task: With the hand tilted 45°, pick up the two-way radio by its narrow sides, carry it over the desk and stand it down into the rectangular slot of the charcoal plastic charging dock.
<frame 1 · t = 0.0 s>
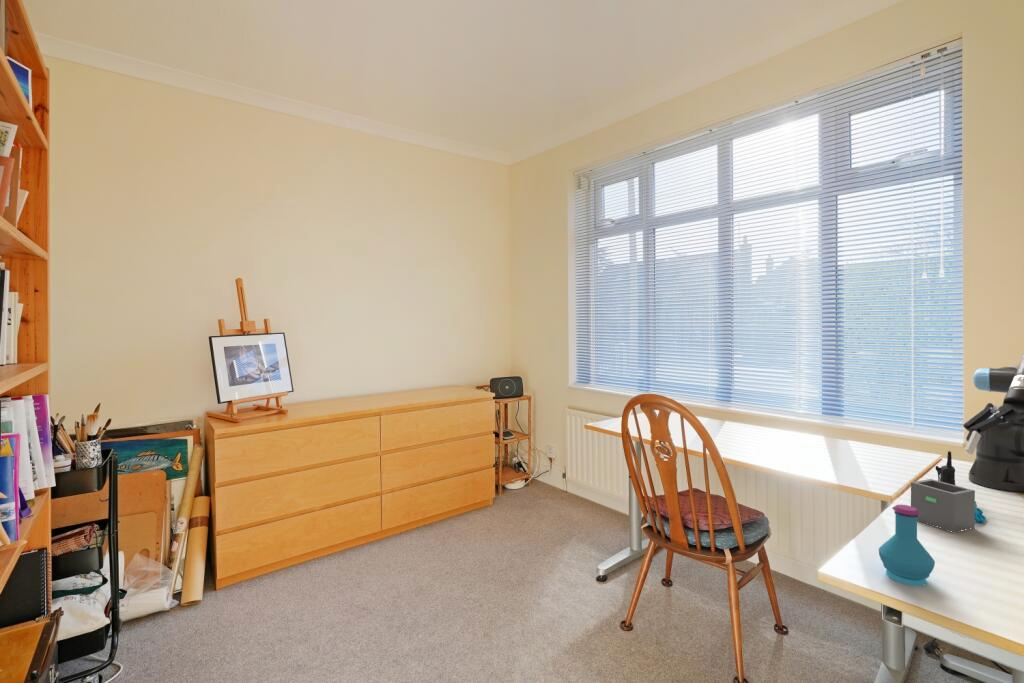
hand: (998, 458, 134), 15 cm above the table, tool tilted 35°, fingers open, 13 cm apart
charging dock: (941, 523, 127), on the table
two-way radio: (945, 499, 144), on the table
perfume bottle: (905, 578, 101), on the table
gear: (966, 518, 130), on the table
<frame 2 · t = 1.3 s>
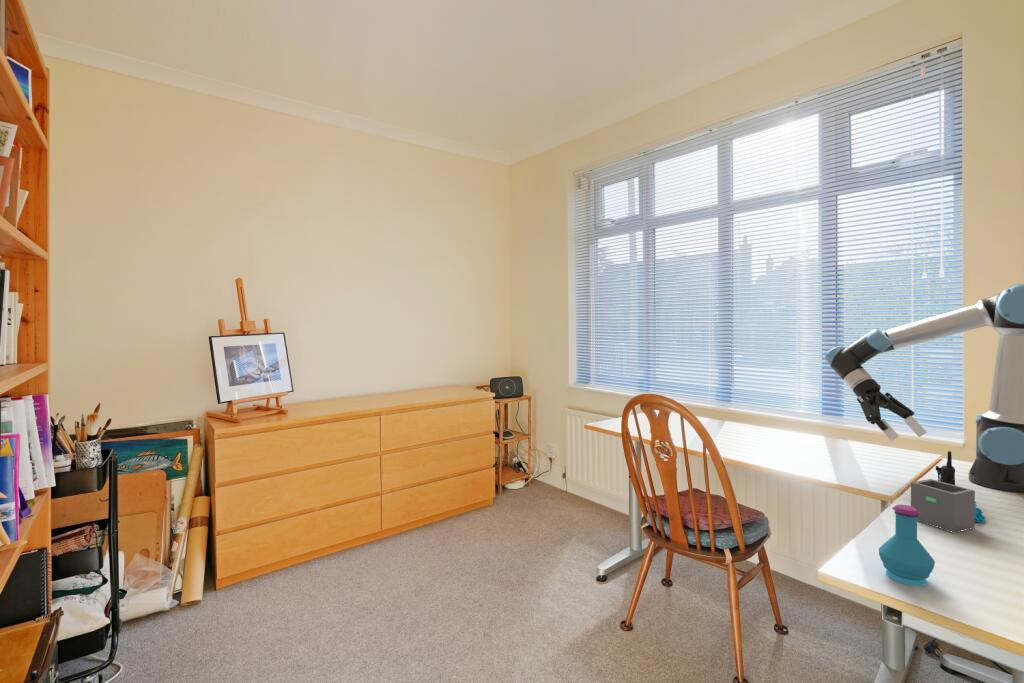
hand: (909, 436, 153), 17 cm above the table, tool tilted 45°, fingers open, 13 cm apart
nothing on the table moved.
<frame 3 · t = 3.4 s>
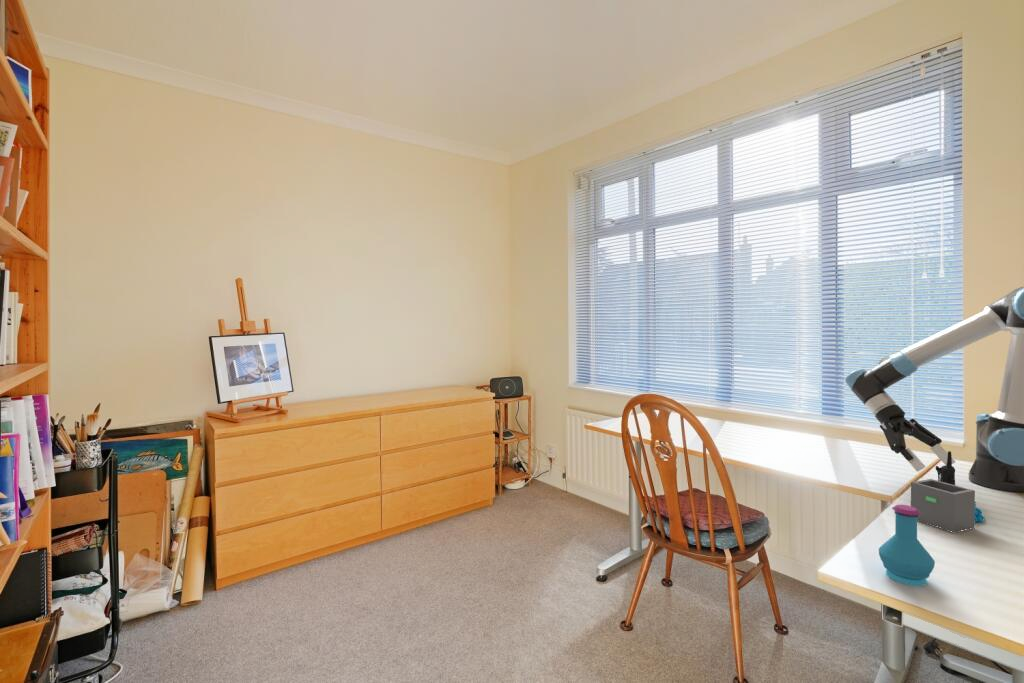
hand: (936, 466, 145), 9 cm above the table, tool tilted 45°, fingers open, 13 cm apart
nothing on the table moved.
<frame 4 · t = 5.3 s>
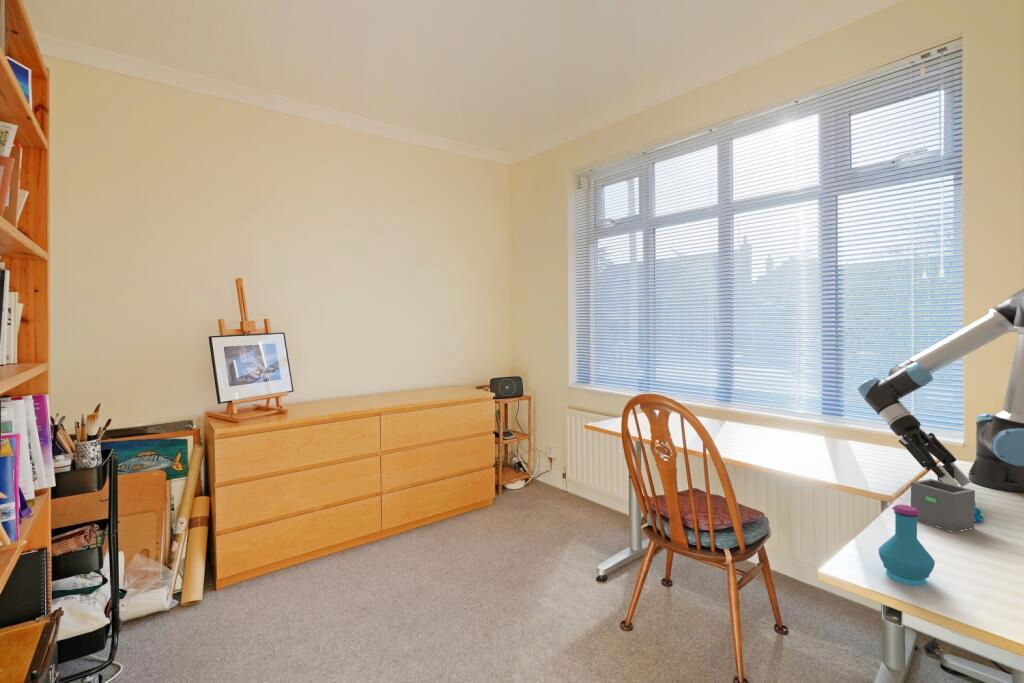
hand: (960, 485, 140), 5 cm above the table, tool tilted 45°, fingers closed on two-way radio, 5 cm apart
two-way radio: (945, 499, 144), on the table, touching gripper
everything else where it was.
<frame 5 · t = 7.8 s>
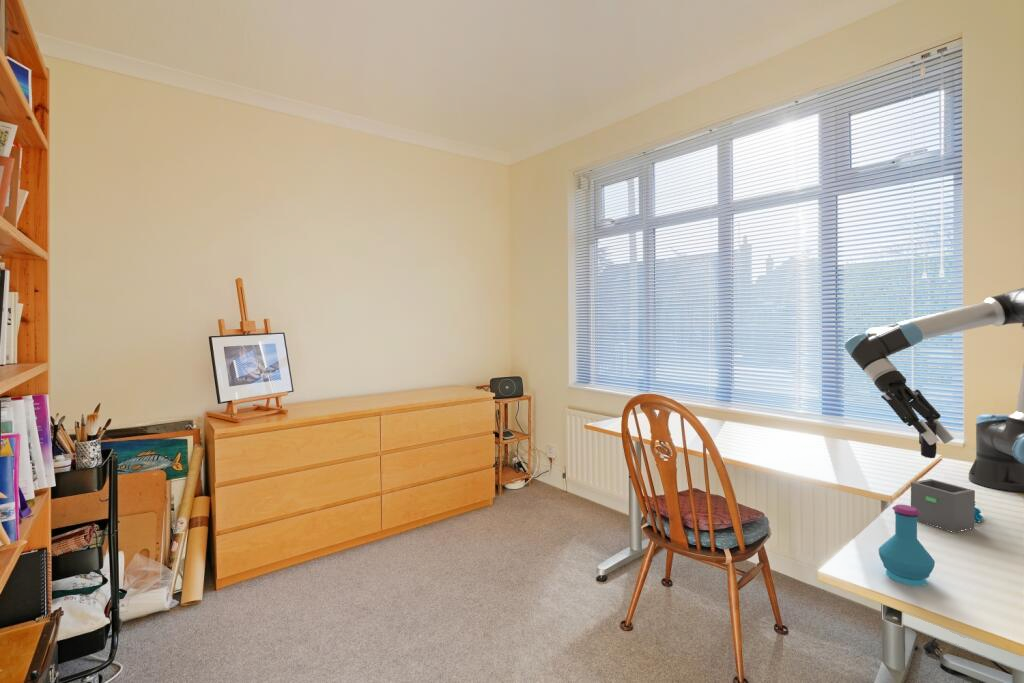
hand: (941, 441, 134), 20 cm above the table, tool tilted 45°, fingers closed on two-way radio, 5 cm apart
two-way radio: (925, 456, 139), point 15 cm above the table, touching gripper
everything else where it was.
when the fingers open (13 cm above the table, at t = 10.3 s): two-way radio drops 1 cm, resting on charging dock.
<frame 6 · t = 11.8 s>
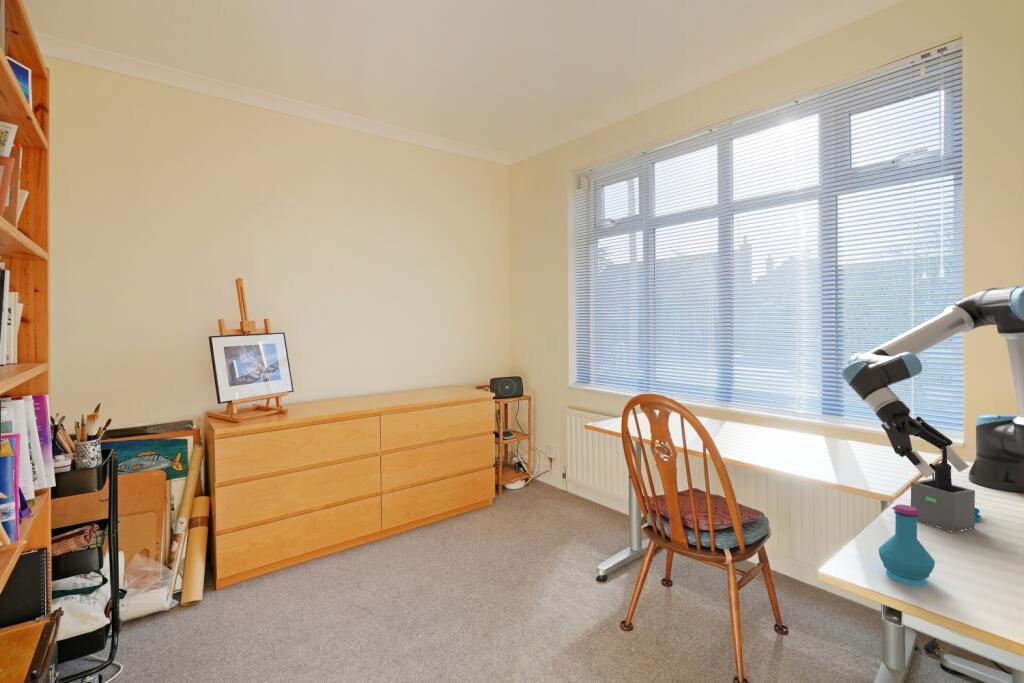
hand: (947, 472, 125), 14 cm above the table, tool tilted 45°, fingers open, 13 cm apart
two-way radio: (940, 501, 127), point 6 cm above the table, touching charging dock
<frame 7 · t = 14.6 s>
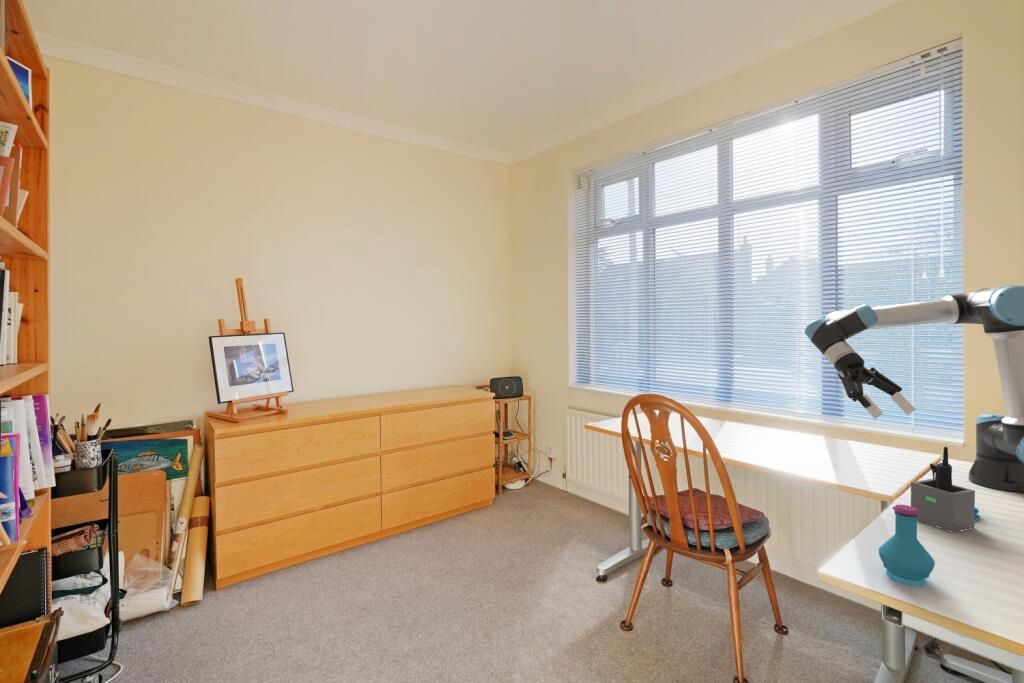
hand: (895, 414, 137), 27 cm above the table, tool tilted 45°, fingers open, 13 cm apart
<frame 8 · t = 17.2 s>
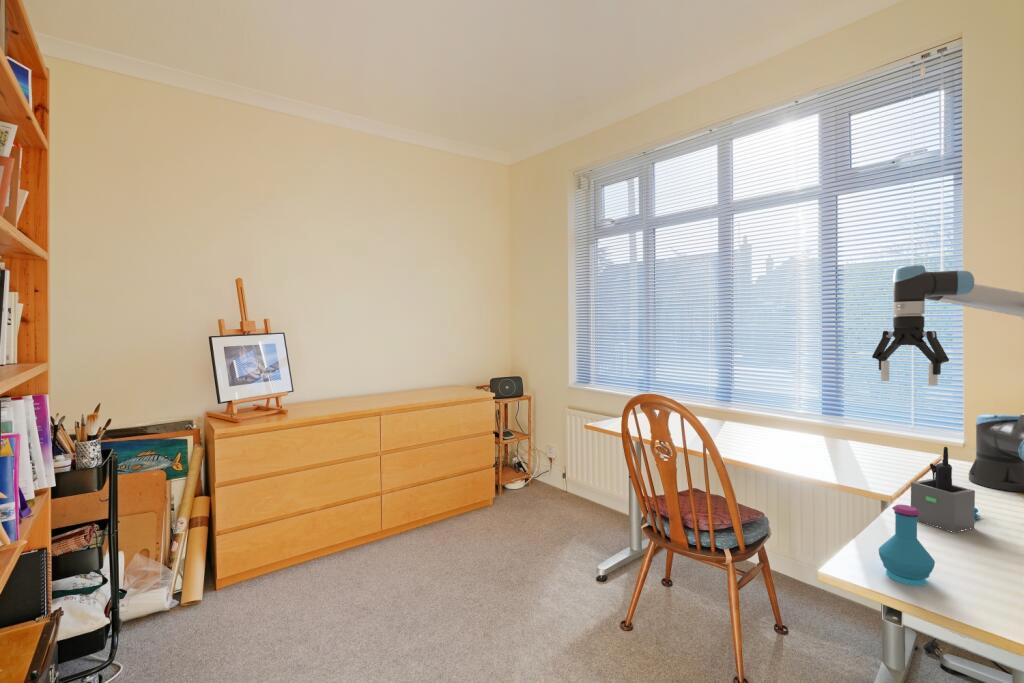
hand: (908, 383, 149), 35 cm above the table, tool pointing down, fingers open, 13 cm apart
at the end: two-way radio 0.3 cm off-centre on the charging dock, point 5.8 cm above the charging dock's base; two-way radio tilted 0°; the gripper is holding nothing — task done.
